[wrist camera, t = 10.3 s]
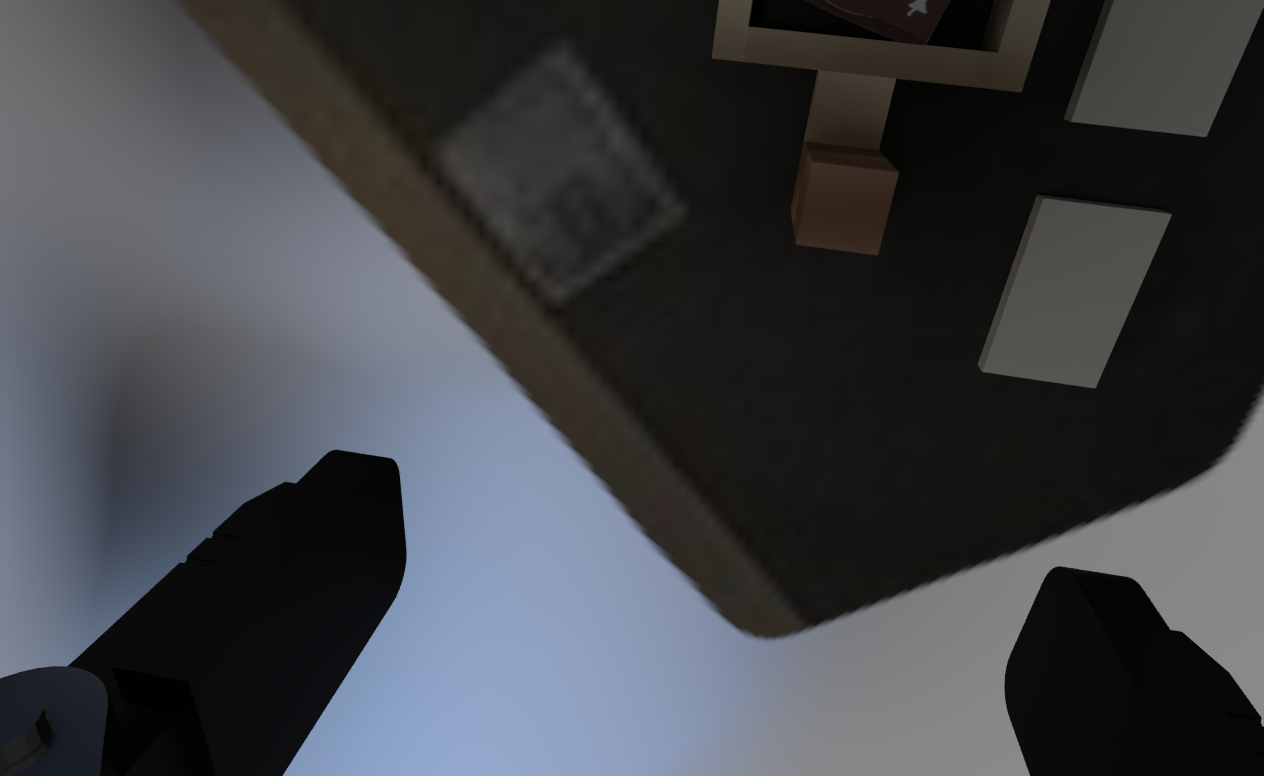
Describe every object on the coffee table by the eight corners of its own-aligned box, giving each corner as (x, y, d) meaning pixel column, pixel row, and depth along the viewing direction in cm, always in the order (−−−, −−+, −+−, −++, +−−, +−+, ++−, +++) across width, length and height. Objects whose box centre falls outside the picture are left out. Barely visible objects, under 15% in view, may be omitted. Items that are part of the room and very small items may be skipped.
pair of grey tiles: (1135, -88, 26) (1146, -91, 25) (1285, -75, 25) (1300, -78, 25) (977, 364, 34) (982, 371, 33) (1088, 380, 34) (1095, 388, 33)
